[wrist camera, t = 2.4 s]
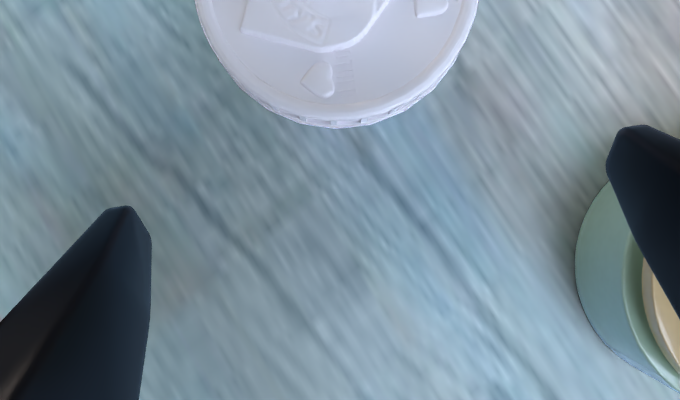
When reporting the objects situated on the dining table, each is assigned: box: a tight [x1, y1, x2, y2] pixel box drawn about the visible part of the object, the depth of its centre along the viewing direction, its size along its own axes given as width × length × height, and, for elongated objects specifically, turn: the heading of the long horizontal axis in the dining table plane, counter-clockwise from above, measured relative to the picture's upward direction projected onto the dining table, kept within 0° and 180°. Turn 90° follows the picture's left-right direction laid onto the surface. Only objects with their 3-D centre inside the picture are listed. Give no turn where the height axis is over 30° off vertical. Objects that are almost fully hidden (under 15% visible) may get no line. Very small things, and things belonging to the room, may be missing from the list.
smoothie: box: [195, 0, 479, 129], centre depth 13 cm, size 6×6×14 cm
